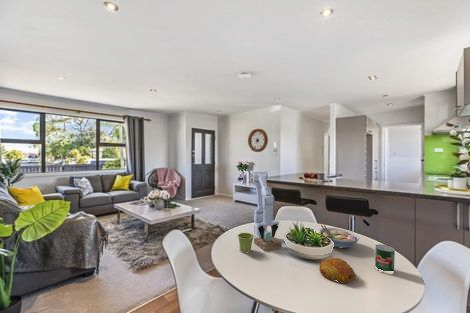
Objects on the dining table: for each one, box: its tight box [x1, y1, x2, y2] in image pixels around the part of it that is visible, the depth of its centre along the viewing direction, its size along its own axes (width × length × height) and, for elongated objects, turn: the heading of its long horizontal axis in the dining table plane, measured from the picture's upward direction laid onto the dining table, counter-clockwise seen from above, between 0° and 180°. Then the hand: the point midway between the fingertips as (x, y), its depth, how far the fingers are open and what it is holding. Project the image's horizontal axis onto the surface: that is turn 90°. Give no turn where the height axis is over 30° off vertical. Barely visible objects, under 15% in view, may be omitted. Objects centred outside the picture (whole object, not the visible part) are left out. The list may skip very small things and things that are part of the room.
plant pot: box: [237, 232, 255, 254], centre depth 130 cm, size 9×9×9 cm
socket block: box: [253, 235, 282, 252], centre depth 137 cm, size 12×12×3 cm
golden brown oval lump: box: [318, 257, 357, 284], centre depth 105 cm, size 14×16×8 cm
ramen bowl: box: [318, 224, 361, 248], centre depth 139 cm, size 25×23×8 cm
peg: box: [265, 230, 272, 243], centre depth 137 cm, size 4×4×8 cm
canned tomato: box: [374, 244, 396, 272], centre depth 110 cm, size 8×8×11 cm
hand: (267, 237), depth 137 cm, fingers open, 7 cm apart
